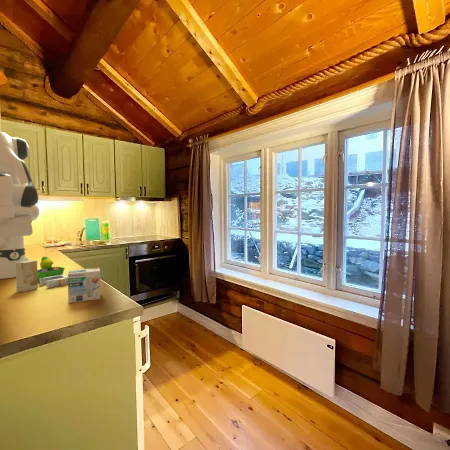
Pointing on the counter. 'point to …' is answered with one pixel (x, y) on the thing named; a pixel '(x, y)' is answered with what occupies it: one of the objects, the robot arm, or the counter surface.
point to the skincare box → (26, 276)
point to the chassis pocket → (54, 281)
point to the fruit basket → (48, 269)
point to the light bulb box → (83, 285)
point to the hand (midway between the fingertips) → (1, 248)
